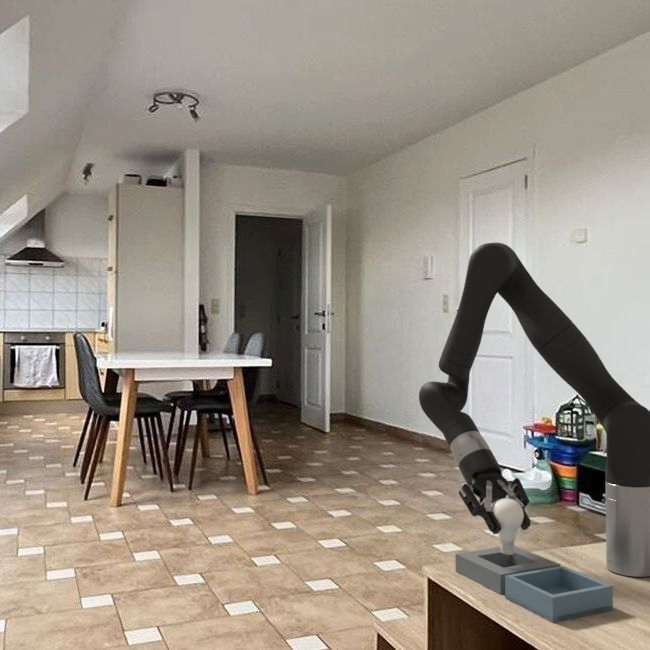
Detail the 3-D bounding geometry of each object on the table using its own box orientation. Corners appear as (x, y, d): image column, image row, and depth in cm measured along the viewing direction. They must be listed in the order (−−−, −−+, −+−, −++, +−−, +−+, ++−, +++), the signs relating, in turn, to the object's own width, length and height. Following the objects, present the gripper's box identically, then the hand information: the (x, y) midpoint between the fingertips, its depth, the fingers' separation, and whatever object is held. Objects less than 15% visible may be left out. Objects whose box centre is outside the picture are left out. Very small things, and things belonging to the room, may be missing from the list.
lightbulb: (525, 561, 135) (524, 502, 135) (491, 559, 136) (489, 501, 136) (523, 551, 141) (522, 495, 141) (490, 549, 142) (489, 494, 143)
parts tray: (562, 587, 132) (562, 565, 133) (612, 609, 122) (612, 586, 122) (505, 598, 127) (505, 575, 127) (552, 622, 116) (552, 597, 116)
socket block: (512, 562, 148) (512, 545, 148) (560, 583, 135) (560, 564, 135) (455, 571, 142) (455, 553, 142) (500, 594, 129) (500, 574, 129)
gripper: (452, 450, 143) (490, 523, 132) (510, 444, 149) (551, 514, 138) (438, 472, 148) (473, 545, 137) (495, 466, 153) (533, 535, 142)
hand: (512, 529), depth 137 cm, fingers closed on lightbulb, 6 cm apart
